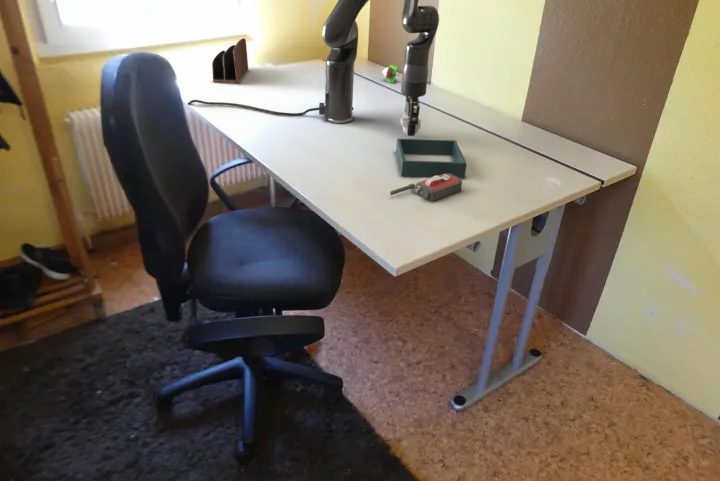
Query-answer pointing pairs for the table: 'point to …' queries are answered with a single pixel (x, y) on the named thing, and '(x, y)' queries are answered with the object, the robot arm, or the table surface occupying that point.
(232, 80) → the letter holder
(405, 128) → the white rounded figurine
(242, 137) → the table surface
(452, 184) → the walkie-talkie
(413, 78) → the robot arm
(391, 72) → the geometric puzzle
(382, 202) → the table surface
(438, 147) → the open box
